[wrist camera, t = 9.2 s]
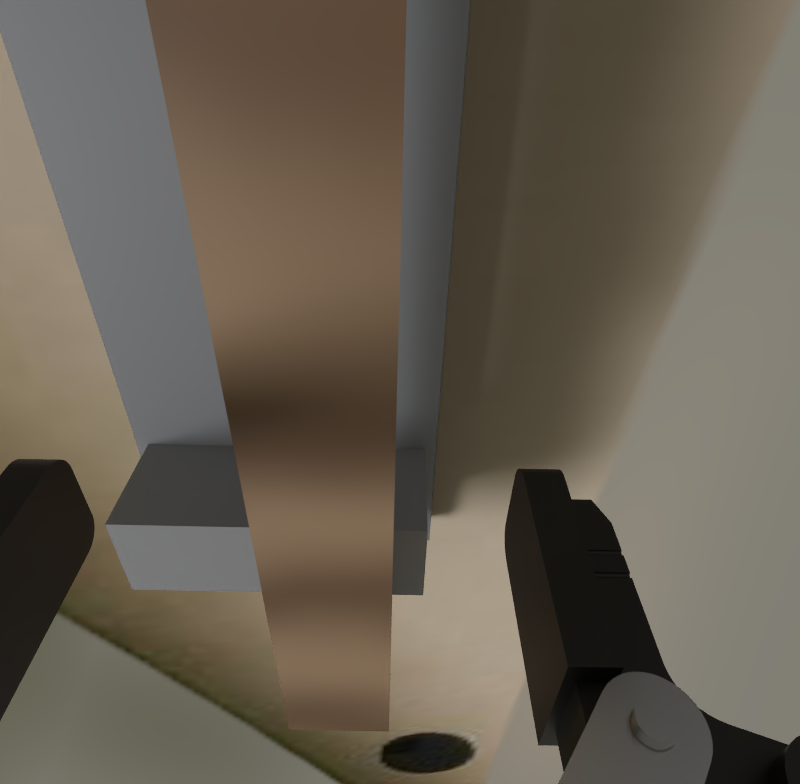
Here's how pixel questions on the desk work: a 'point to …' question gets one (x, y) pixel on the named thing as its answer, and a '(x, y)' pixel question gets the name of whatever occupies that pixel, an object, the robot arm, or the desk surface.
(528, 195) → the desk surface
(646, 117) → the desk surface
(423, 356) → the notch rack
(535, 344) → the desk surface
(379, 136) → the wooden plank
